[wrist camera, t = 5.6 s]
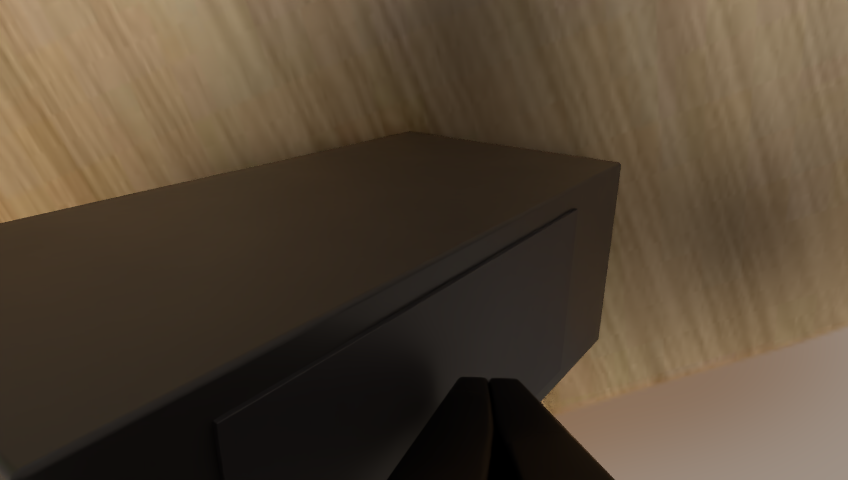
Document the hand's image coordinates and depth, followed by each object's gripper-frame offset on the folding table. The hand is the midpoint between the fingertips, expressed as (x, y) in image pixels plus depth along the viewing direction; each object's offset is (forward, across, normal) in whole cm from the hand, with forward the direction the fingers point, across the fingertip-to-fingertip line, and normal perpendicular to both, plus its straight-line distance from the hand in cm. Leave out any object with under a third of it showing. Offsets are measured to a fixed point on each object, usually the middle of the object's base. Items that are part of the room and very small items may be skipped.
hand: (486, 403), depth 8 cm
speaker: (+8, -1, 0) cm, 8 cm away
